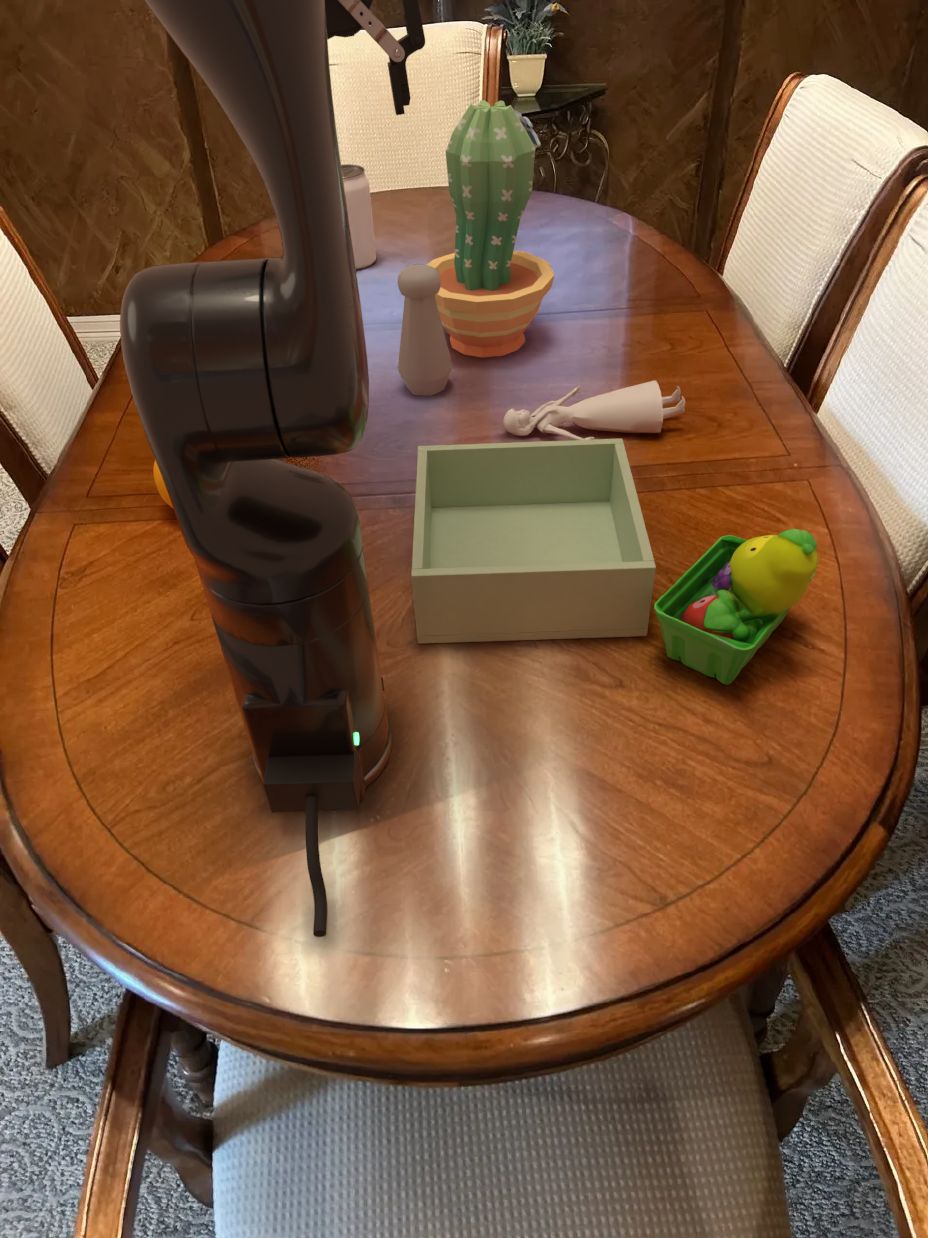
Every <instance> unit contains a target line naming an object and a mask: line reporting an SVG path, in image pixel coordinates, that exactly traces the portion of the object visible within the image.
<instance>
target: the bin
mask: <svg viewBox="0 0 928 1238" xmlns="http://www.w3.org/2000/svg"><path fill="white" fill-rule="evenodd" d="M416 459H417V461H416V464H417V465H416V480H415V498H414V501H415V502H414V517H413V536H412V553H411V554H412V555H411V575H410V577H411V578H410V579H411V587H412V597H413V608H414V617H415V627H416V637H417V644H447V643H449V644H450V643H475V642H476V643H482V642H507V641H510V642H511V641H539V640H540V641H541V640H567V639H596V638H597V639H598V638H599V639H600V638H602V639H603V638H628V637H631V638H632V637H647V636H648V631H649V624H650V617H651V608H652V602H653V601H652V600H653V595H654V587H655V579H656V571H657V566H656V562H655V558H654V554H653V550H652V547H651V543H650V539H649V535H648V531H647V527H646V523H645V519H644V516H643V512H642V509H641V503H640V500H639V496H638V493H637V489H636V485H635V481H634V477H633V473H632V469H631V466H630V462H629V459H628V454H627V450H626V447H625V443H624V439H623V438H599V439H597V438H596V439H595V438H594V439H590V440H572V439H568V440H546V441H545V440H544V441H543V440H542V441H541V440H540V441H520V442H519V441H517V442H489V443H488V442H487V443H464V444H463V443H461V444H460V443H459V444H437V445H418V446H417V458H416Z"/></svg>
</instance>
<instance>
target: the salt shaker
mask: <svg viewBox="0 0 928 1238" xmlns="http://www.w3.org/2000/svg"><path fill="white" fill-rule="evenodd" d="M397 286H398V290H399V292H400V294H401V295H402V296H403V297H404V301H403V311H402V312H403V313H402V321H401V331H400V342H399V352H398V353H399V354H398V363H397V369H398V373H399V375H400V378H401V380H403V382H404V384H405V385H406V388H407V389H408V390H409V391H410V392H411V393H412V394H413V395H414V396H426V397H430V396H431V397H432V396H434V395H436V394H439V393H441V392H443V391H445V388H446V386H447V383H448V380H449V377H450V374H451V373H452V369H453V363H452V359H451V356H450V355H451V354H450V352H449V348H448V343H447V340H446V336H445V335H446V334H445V332H444V327H443V325H442V323H441V319H440V316H439V311H438V307H437V302H436V298H435V294H437V293H438V292H439V290H440V287H441V280H440V275H439V273H438V271H437V270H436V269H435V268H434V267H432V266H429V265H428V264H413V265H408V266H406V267H404V268H403V269H402V270H401V271H400V273H399V274H398V276H397Z"/></svg>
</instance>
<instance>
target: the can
mask: <svg viewBox="0 0 928 1238" xmlns="http://www.w3.org/2000/svg"><path fill="white" fill-rule="evenodd" d="M341 168H342V175H343V183H344V190H345V197H346V204H347V211H348V218H349V226H350V233H351V240H352V247H353V254H354V261H355V268H356V271H358V270H359V271H360V270H363V269H367V268H369V267H371V266H373V265H374V263H375V262H376V260H377V250H376V249H377V248H376V239H375V227H374V219H373V218H374V217H373V208H372V198H371V188H370V181H369V179H368V177H367V175H366V173H365V168H364V167H363V166H361V165H358V164H350V163H349V164H348V163H346V164H345V163H344V164H341Z"/></svg>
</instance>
